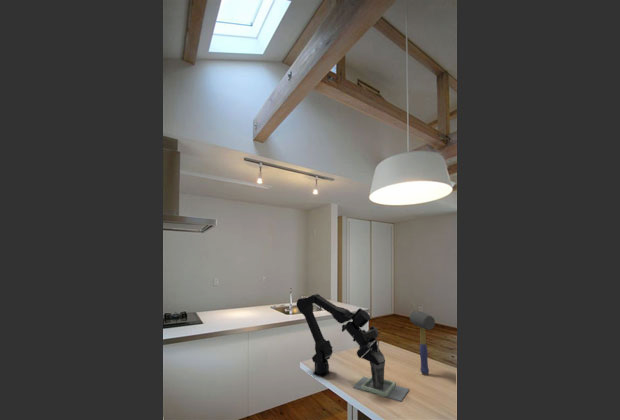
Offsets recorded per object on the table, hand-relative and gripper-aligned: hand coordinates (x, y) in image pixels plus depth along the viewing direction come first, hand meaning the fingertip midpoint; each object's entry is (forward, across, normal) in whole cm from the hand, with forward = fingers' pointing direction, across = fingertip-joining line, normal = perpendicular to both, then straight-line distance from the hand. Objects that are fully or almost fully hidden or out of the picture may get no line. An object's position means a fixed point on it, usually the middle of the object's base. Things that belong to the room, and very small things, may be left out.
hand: (380, 361), depth 131 cm
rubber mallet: (+21, +24, -4) cm, 32 cm away
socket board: (+8, 0, +9) cm, 12 cm away
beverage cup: (+7, 0, +9) cm, 12 cm away
